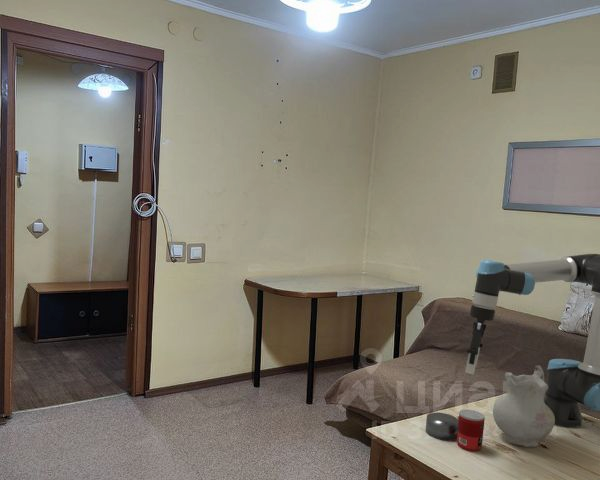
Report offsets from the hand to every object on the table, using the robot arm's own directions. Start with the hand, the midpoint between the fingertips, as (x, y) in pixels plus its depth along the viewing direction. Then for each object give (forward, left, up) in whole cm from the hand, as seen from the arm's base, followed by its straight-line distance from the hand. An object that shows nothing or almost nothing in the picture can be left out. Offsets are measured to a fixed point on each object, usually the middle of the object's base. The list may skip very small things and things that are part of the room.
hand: (470, 369), depth 171 cm
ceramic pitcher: (-14, -17, -25) cm, 34 cm away
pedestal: (+8, -1, -25) cm, 27 cm away
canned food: (-2, +2, -25) cm, 26 cm away
